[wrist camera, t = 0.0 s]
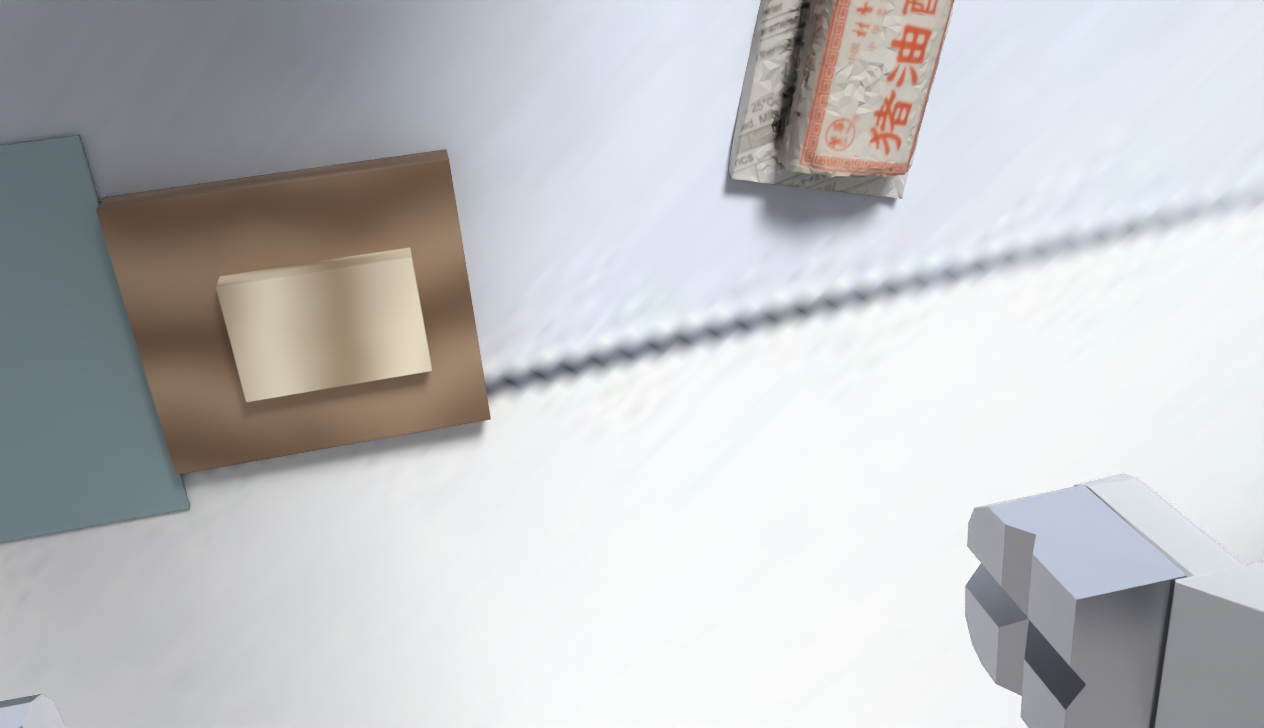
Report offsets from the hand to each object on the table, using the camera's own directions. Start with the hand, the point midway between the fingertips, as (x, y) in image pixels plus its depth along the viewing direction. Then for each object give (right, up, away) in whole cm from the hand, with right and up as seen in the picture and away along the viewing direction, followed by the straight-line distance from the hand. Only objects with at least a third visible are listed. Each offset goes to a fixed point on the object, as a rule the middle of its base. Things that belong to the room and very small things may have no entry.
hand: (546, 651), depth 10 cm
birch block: (-14, +5, +46) cm, 49 cm away
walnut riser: (-16, +5, +48) cm, 51 cm away
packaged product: (+12, +20, +48) cm, 54 cm away
